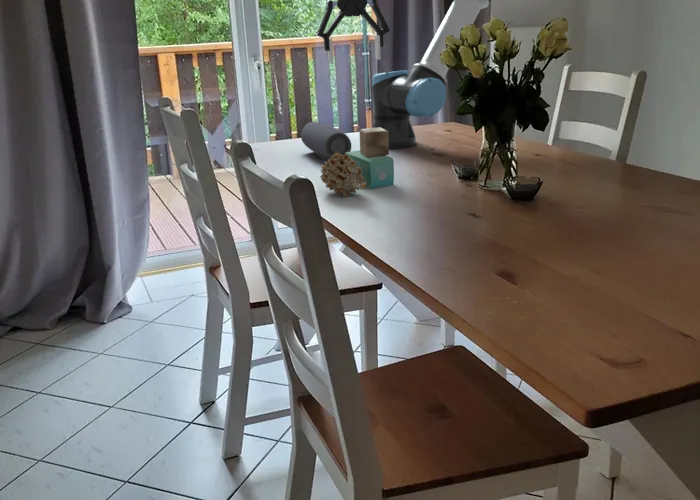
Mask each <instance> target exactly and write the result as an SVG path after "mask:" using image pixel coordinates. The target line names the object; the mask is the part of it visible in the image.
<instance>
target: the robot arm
mask: <svg viewBox="0 0 700 500" xmlns="http://www.w3.org/2000/svg"><path fill="white" fill-rule="evenodd" d="M491 1H492V0H453V1H452V2H451V4H450V7H449V8H448V10H447V12H446V14H445V15H444V18H443V19H442V21H441V22H440V25H439V27H438V29H437V30H436V32H435V34H434V36H433V38H432V40H431V41H430V43H429V45H428V47H427V49H426V51H425V52H424V55H423V56H422V58H421V60H420V62H418V63H414V64H413V65H412V67H411V68H410V70H409V71H408V70H406V69H405V70H403V69H402V70H396V71H390V72H389V71H388V72H380V73H375V74H374V75H373V76H372V79H371V90H372V108H373V109H372V111H373V123H372V127H371V128H378V127H381V128H383V129H385V130H386V131H388V137H389V149H400V148H401V149H402V148H408V147H411V146H414V145H416V143H417V141H416V139H417V138H416V134H415V130H414V128H413V126H412V122H411V117H414V118H415V117H416V118H430V117H433V116H435V115H436V114H438V113H439V112H440V111H441V110H442V108H443V107H444V105H445V103H446V99H447V95H446V94H447V88H446V85H447V82H448V81H447V78H446V76H447V73H448V71H449V69H448V68H447V67H446V66H445V65H443V64H442V63H441V61H440V59H439V55H440V53H441V51H442V50H443V49H445V48H446V47H447V46H446V44H445V37H446V36H448V35H450V34H451V35H453V36H454V37H455V38H458V39H460V31H461V29H462V27H463V26H464V25H469V24H474V23H475V21H476V19H477V16H478V15H479V14H480V11H481V10H483V9H486V8H488V6H489V5H490V3H491ZM378 4H379V3H378V0H337V1H336V0H327V1H326V9H325V12H324V13H323V17H322V19H321V22H320V24H319V26H318V29H317V32H316V36H317V37H319V38H322V39H323V45H324V46H323V48H324V51H326V52H327V53H328V54H327V55H328V63H329V64H334V52H333V51H334V50H333V49H334V48H333V38H330V37H331V36H332V34H333V32H334V31H335V30H336V28H337V27H338V25H339V24H340V23H341V21H342V19H344V17H346V18H348V17H350V18H351V17H360V16H361V17H362V18H363V19H364V21H365V22H366V23H367V24H368V25H369V26H370V27H371V28H372V29H373V31H374V32H375V33H376V34H374V51H375V53H374V55H375V60H377V61H379V60H381V58H382V57H381V48H383V47H384V35H385V34H387V33H389V32H390V27H389V25H388V24H387V22H386V19H385V17H384V16H383V14H382V11H381V9H380V8H379V5H378ZM368 5H369V7H370V8H372V9H371V10H372V11H373V14H374V15H375V17H376V19H377V22H378V24H377V23H376V22H375V20H374V19H373V18H372V16H370V14H369V13H368V11H367V10H366V7H367V6H368ZM336 7H337V9H339V12H338V13H337V15H336V16H335V18H334V19H333V21H332V22H331V24H330V25H329V26H328V28H327V29H326V27H327V25H328V23H329V20H330V18H331V15H332V13H333V10H335V8H336ZM379 25H380V26H379ZM410 116H411V117H410Z"/></svg>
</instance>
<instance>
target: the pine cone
mask: <svg viewBox="0 0 700 500" xmlns="http://www.w3.org/2000/svg"><path fill="white" fill-rule="evenodd" d="M356 164H357V162H356V161H354V160H353V159H351V158H350V157H349V156H348V154H345V153H344V155H341V154H340V153H334V155H333V156H331V159H328V160H327V161H324V164H322V165H320V167H321V170H320V172H321V175H320V177H319V178H320V180H321V181H322V183H324V184H325V188H327V189H329V190H330V191H332V190H333V192H334V193H335V194H337V195H339V194H342V196H343V197H345V196H346V197H350V194H352V193H354V194H356V193H357V191H360V190H366V188H367V187H366V186H367V182H363V179H364V177H363V176H361V173H362V170H361V167H359V166H356ZM361 183H362V184H361ZM356 190H357V191H356Z"/></svg>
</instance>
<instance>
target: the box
mask: <svg viewBox="0 0 700 500" xmlns="http://www.w3.org/2000/svg"><path fill="white" fill-rule="evenodd" d="M345 154H348V156H349V157H350V158H351V159H353V160H354V161H356V162H357V164H356V166H359V167H361V170H362V173H361V176H363V177H364V179H363V182H367V186H366V188H367V189H369V190H370V189H371V190H372V189H377V188H381V187H382V188H383V187H387V186H392V185H394V183H395V166H394V165H395V163H394V161H395V160H394V158H393V157H390V156H389V155H383V156H373V157H366V156H364V155H363V154H361V153H360V150H354V151H353V150H352V151H350V152H346V153H345ZM361 184H362V183H361Z"/></svg>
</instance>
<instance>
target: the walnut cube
mask: <svg viewBox="0 0 700 500" xmlns="http://www.w3.org/2000/svg"><path fill="white" fill-rule="evenodd" d="M359 149H360V153H361V154H363V155H364V156H366V157H373V156H383V155H386V156H389V155H390V148H389V137H388V131H386V130H385V129H383V128H381V127H378V128H372V127H371V128H370V127H369V128H368V127H367V128H360V129H359Z"/></svg>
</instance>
